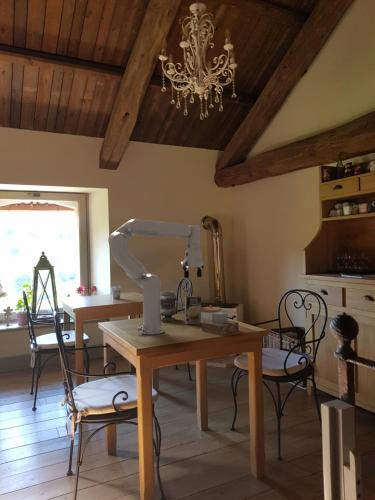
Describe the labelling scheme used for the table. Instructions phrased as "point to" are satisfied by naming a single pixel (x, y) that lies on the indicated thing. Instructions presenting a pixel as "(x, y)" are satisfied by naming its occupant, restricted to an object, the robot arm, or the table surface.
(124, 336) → the table surface
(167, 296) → the apothecary jar
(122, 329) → the table surface
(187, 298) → the coffee box
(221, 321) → the slate block
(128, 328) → the table surface
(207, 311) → the lidded bowl
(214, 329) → the walnut block
